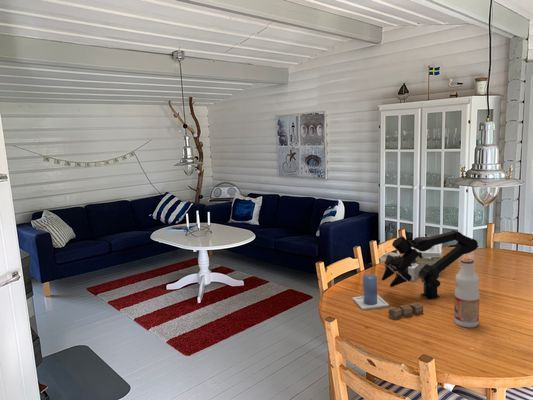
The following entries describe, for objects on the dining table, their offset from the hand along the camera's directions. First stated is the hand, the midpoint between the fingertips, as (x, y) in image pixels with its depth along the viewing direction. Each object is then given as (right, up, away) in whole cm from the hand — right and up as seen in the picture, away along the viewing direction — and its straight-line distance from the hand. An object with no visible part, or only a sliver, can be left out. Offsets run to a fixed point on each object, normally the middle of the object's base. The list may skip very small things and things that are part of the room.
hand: (386, 283), depth 199 cm
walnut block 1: (-1, -12, -17) cm, 20 cm away
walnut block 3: (+10, -11, -14) cm, 20 cm away
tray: (-8, -10, 0) cm, 13 cm away
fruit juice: (+27, -12, -26) cm, 39 cm away
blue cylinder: (-8, -9, 0) cm, 12 cm away
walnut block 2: (+4, -11, -15) cm, 20 cm away
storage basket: (+36, -1, +42) cm, 56 cm away
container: (+22, -3, +31) cm, 38 cm away
